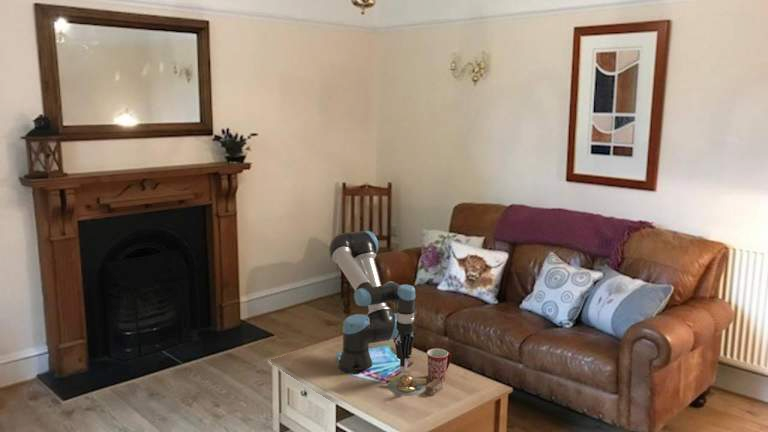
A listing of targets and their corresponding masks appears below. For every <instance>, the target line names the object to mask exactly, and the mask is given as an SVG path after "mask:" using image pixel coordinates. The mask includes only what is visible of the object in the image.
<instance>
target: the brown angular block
mask: <svg viewBox="0 0 768 432" xmlns="http://www.w3.org/2000/svg"><path fill="white" fill-rule="evenodd" d="M425 386H426V389H425V395H428V396H431V397H432V396H433V395H435V394H436V393H438V392H440V391H441V390H443V382H442V381H441V380H438V379H435V380H434V381H430V382H429V383H428V384H425Z"/></svg>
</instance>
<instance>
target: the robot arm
mask: <svg viewBox="0 0 768 432" xmlns="http://www.w3.org/2000/svg"><path fill="white" fill-rule="evenodd" d="M328 250H329V251H328V252H329V256H330V258H331V260H332V261H333V263H335V264H337V265H338V266H339V268H340V270H341V271H342V273H343V274H344V276H345V278H346V279H347V281H348V282H349V283H350V286H351V287H352V289H353V290H354V293H353V298H354V301H355V304H356V305H357V306H359V307H368V308H367V309H368V313H367V314H363V313H361V314H360V313H355V314H352V315H349V316H347V317H346V318H345V319H344V321H343V324H342V325H343V326H342V352H341V355H340V358H339V360H338V368H339V369H340V370H341V371H342V372H345V373H349V374H361V373H363V372H364V371H367V370H369V369H370V368H372V367H373V360H372V358H371V355H370V352H369V348H370V347H369V344H374V343H379V342H385V341H391V340H393V343H394V347H395V354H396V359H398V360H399V365H400V366H399V368H400V369H399V373H402V374H403V375H406V373H407V370H408V362H409V361H408V360H409V359H411V355H412V352H413V351H412V350H413V346H414V340H415V336H416V332H414V329H415V309H416V307H415V306H416V288H415V287H414V285H410V284H401V285H400V284H399V283H397V282H395V281H387V282H386V283H384V284H382V283H381V281H380V279H381V278H380V275H379V272H378V268H377V264H376V260H375V259H376V257H377V253H378V251H379V241H378V238H377V236H376V235H375V233H373V232H372V231H370V230H361V231H351V232H342V233H341V232H340V233H339V234H337V235H336V236H334V237H333V239H332V240H331V241H330V245H329V249H328ZM392 302H393V303H394V304H396V313H395V312H393V310H392V308H390V307H389V306H388V305H387V304H388V303H392Z"/></svg>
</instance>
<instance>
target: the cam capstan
mask: <svg viewBox="0 0 768 432" xmlns="http://www.w3.org/2000/svg"><path fill="white" fill-rule="evenodd" d="M387 381H388V382H391V381H395V382H400V383H398V384H397V389H398V390H399V391H401V392H405V393H410V392H413V391H415V390H416V385H415V384H414V383H419V384H425V385H427V378H420V377H413V376H412V369H407V373H406V374H403V375H401V376H396V375H388V377H387Z"/></svg>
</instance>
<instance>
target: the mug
mask: <svg viewBox="0 0 768 432" xmlns="http://www.w3.org/2000/svg"><path fill="white" fill-rule="evenodd" d="M426 354H427V374H428V375H427V378H428V380H429V381H430V382H432V381H434V380H435V379H438V380H441V381H442V383H443V382H444V381H445V380H446V375H447V370H448V368H449V367H450V364H451V360H452V354H451V353H450V352H448V351H447V350H446V349H443V348H432V349H428V350H427V352H426Z"/></svg>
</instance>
